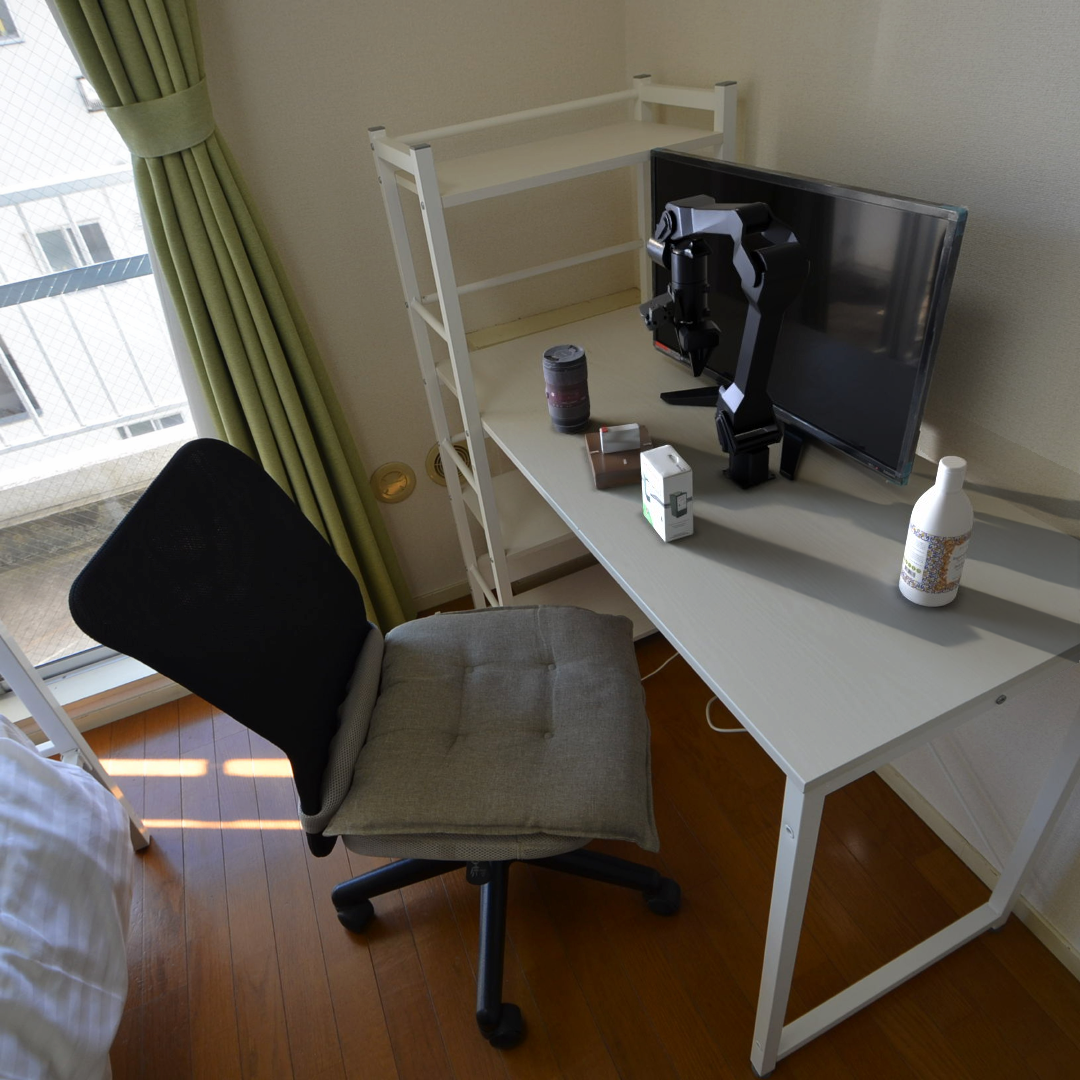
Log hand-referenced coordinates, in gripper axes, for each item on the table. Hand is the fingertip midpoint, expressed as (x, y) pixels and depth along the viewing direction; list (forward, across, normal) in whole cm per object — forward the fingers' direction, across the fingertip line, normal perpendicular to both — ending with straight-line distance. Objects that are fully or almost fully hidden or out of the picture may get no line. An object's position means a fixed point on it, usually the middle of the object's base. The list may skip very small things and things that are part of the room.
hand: (690, 365), depth 142 cm
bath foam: (+12, +53, +19) cm, 57 cm away
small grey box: (+9, +10, -15) cm, 20 cm away
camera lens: (+12, -7, -22) cm, 26 cm away
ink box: (+12, +29, -11) cm, 34 cm away
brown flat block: (+12, +10, -15) cm, 21 cm away
